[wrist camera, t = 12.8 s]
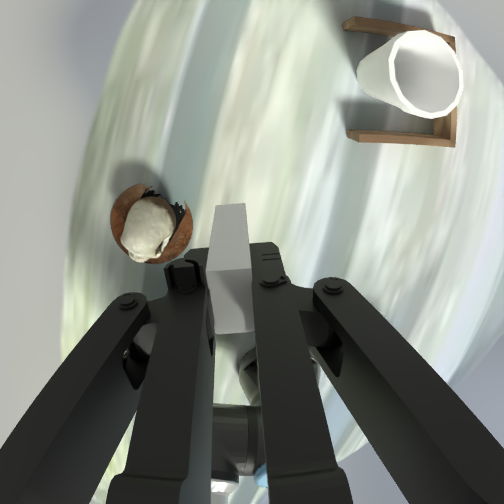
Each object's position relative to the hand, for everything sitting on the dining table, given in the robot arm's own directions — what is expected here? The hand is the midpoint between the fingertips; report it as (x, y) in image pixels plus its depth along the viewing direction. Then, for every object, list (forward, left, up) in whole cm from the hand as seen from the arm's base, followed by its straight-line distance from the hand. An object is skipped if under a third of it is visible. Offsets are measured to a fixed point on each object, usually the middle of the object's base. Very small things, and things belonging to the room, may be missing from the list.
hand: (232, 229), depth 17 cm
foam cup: (+10, -20, -27) cm, 34 cm away
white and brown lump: (-9, +12, -27) cm, 31 cm away
